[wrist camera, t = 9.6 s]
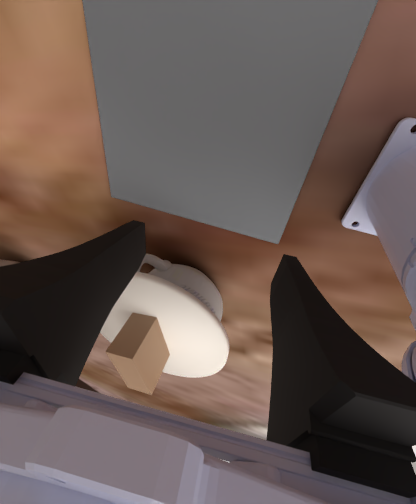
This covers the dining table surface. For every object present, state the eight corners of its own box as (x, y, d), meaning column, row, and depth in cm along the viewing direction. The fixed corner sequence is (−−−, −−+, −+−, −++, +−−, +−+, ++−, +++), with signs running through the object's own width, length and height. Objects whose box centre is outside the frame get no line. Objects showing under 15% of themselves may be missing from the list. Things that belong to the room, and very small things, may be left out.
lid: (224, 283, 17) (203, 341, 13) (232, 383, 26) (221, 435, 22) (64, 261, 21) (16, 300, 18) (118, 352, 30) (93, 391, 26)
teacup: (232, 318, 32) (216, 376, 26) (161, 306, 35) (132, 355, 29) (222, 229, 24) (195, 283, 18) (132, 225, 27) (84, 269, 21)
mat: (386, -25, 12) (389, -28, 11) (278, 241, 23) (278, 244, 22) (78, -56, 14) (73, -59, 14) (113, 195, 25) (111, 196, 25)
